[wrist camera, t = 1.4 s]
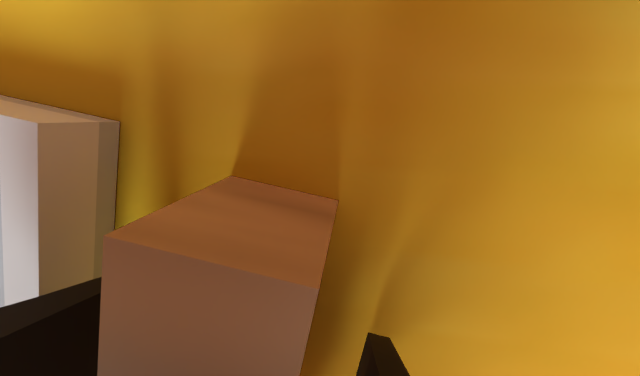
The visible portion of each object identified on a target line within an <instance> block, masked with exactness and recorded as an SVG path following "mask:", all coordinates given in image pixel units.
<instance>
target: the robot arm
mask: <svg viewBox="0 0 640 376" xmlns="http://www.w3.org/2000/svg"><path fill="white" fill-rule="evenodd" d="M101 280H102V277H99V278H96V279H92V280H89V281H86V282H83V283H80V284H77V285H73V286H70V287H67V288H64V289H61V290H58V291H54V292H51V293H48V294H45V295H42V296H38V297H35V298H32V299H28V300H25V301H21V302H18V303H14V304H11V305H7V306H4V307H0V376H97V371H98V348H99V326H100V303H101ZM356 376H410V375H409V373H408V371H407V369H406V368H405V366H404V364H403V362H402V360H401V358H400V356H399V355H398V353H397V351H396V349H395V347H394V345H393V343H392V341H391V340H390V338H388V337H384V336H380V335H376V334H372V333H368V335H367V338H366V342H365V346H364V349H363V353H362V356H361V360H360V363H359V367H358V370H357V374H356Z"/></svg>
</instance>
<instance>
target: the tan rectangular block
mask: <svg viewBox="0 0 640 376" xmlns="http://www.w3.org/2000/svg"><path fill="white" fill-rule="evenodd" d="M338 201H339V200H334V199H330V198H326V197H321V196H317V195H312V194H308V193H304V192H299V191H295V190H291V189H286V188H282V187H278V186H273V185H269V184H265V183H260V182H256V181H252V180H247V179H243V178H239V177H234V176H230V177H228V178H225V179H223V180H221V181H219V182H217V183H215V184H213V185H210V186H208V187H206V188H204V189H202V190H200V191H198V192H195V193H193V194H191V195H189V196H187V197H185V198H183V199H181V200H178V201H176V202H174V203H172V204H170V205H168V206H166V207H163V208H161V209H159V210H157V211H155V212H153V213H151V214H149V215H146V216H144V217H142V218H140V219H138V220H136V221H134V222H131V223H129V224H127V225H125V226H123V227H121V228H119V229H117V230H114V231H112V232H110V233H108V234H106V235H104V236H103V258H102V280H101V303H100V326H99V348H98V371H97V376H299V375H300V371H301V366H302V362H303V358H304V353H305V349H306V345H307V340H308V336H309V331H310V327H311V323H312V318H313V314H314V310H315V305H316V301H317V297H318V292H319V288H320V283H321V279H322V274H323V270H324V265H325V260H326V256H327V251H328V247H329V242H330V238H331V233H332V228H333V224H334V219H335V215H336V210H337V206H338Z"/></svg>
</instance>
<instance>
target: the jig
mask: <svg viewBox="0 0 640 376" xmlns="http://www.w3.org/2000/svg"><path fill="white" fill-rule="evenodd" d="M119 127H120V122H119V121H115V120H110V119H106V118H101V117H97V116H92V115H88V114H84V113H79V112H75V111H70V110H66V109H61V108H57V107H52V106H48V105H43V104H39V103H34V102H30V101H26V100H21V99H17V98H12V97H8V96H3V95H0V307H4V306H7V305H11V304H14V303H18V302H21V301H25V300H28V299H32V298H35V297H38V296H42V295H45V294H48V293H51V292H54V291H58V290H61V289H64V288H67V287H70V286H73V285H77V284H80V283H83V282H86V281H89V280H92V279H96V278H99V277H102V258H103V236H104V235H106V234H108V233H110V232H112V231H114V220H115V201H116V182H117V164H118V145H119Z"/></svg>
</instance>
